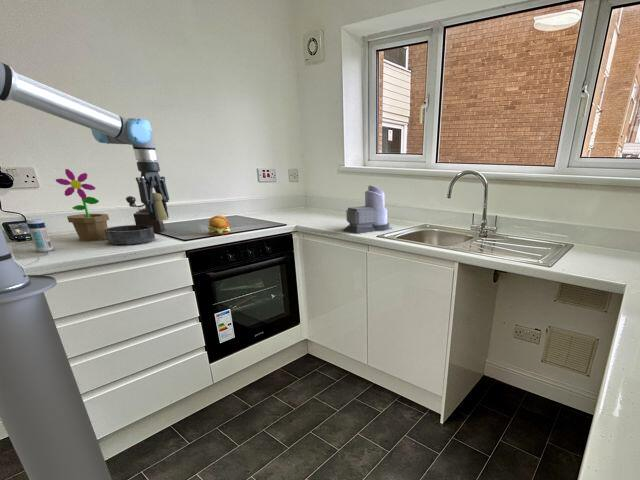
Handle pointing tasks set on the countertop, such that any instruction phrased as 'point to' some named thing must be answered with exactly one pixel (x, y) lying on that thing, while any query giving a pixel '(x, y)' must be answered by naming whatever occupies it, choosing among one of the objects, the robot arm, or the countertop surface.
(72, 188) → the flowerpot
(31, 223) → the white cylindrical container
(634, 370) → the countertop surface
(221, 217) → the cheeseburger
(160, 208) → the cork
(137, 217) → the brown coffee grinder
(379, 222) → the juicer
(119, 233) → the dark grey shallow bowl
